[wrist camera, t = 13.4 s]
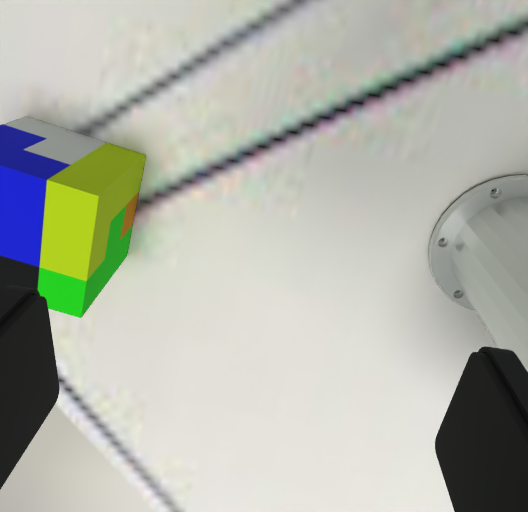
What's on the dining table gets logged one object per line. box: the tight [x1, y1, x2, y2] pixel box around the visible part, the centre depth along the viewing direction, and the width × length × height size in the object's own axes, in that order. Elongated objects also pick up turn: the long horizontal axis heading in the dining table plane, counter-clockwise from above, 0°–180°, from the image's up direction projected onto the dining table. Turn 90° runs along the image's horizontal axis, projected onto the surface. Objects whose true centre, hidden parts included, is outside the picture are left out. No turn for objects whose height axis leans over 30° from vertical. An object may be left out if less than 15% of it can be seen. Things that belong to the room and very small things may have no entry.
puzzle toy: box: [0, 116, 146, 318], centre depth 35 cm, size 10×10×10 cm
